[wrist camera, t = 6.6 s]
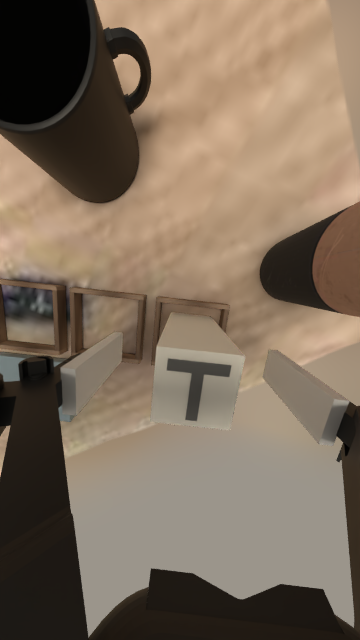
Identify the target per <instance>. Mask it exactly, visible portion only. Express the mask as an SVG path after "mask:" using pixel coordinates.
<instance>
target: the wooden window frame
mask: <svg viewBox="0 0 360 640" xmlns="http://www.w3.org/2000/svg"><path fill="white" fill-rule="evenodd" d="M82 293H83V294H92V295H101V296H110V297H119V298H128V299H137V300H139V308H138V325H137V342H136V354H127V353H122V361H121V362H127V363H136V364H139V363H140V361H141V360H142V352H143V337H144V322H145V308H146V295H141V294H132V293H123V292H114V291H106V290H97V289H88V288H79V287H72V288H70V320H71V356H73V355H75V354H78V353H83V352H85V351H86V350H88V349H82Z"/></svg>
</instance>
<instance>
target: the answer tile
mask: <svg viewBox="0 0 360 640" xmlns="http://www.w3.org/2000/svg"><path fill="white" fill-rule="evenodd" d="M30 357H35V355H26V354H17V353H7V352H0V373H1V374H2V375H3V379H4V382H9V381H20V378H19V367H18V364H19V362H20V361H22V360H24V359H27V358H30ZM52 358H53V357H52ZM53 360H54V367H55V366H57V365H58V364H60V363H62V362H63V361H65V360H67V359H62V358H53ZM58 409H59V418H60V421H67V422H71V420H72V419H73V418H74V417H75V416H74V415H65V414H62V405H61V406H60V407H59V408H58Z"/></svg>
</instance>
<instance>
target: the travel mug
mask: <svg viewBox="0 0 360 640" xmlns="http://www.w3.org/2000/svg"><path fill="white" fill-rule="evenodd" d="M260 278H261V283H262V285H263V287H264V289H265V290H266V292H267V293H268V294H270V295H271V296H272V297H274V298H276V299H279V300H282V301H286V302H291V303H295V304H300V305H305V306H309V307H314V308H318V309H323V310H328V311H332V312H337V313H342V314H347V315H352V316H357V317H360V202H358V203H356V204H354V205H352V206H350V207H348V208H346V209H344V210H342V211H340V212H338V213H336V214H334V215H332V216H330V217H328V218H326V219H324V220H322V221H320V222H318V223H316V224H314V225H312V226H310V227H308V228H306V229H304V230H302V231H300V232H298V233H296V234H294V235H292V236H290V237H288V238H286V239H284V240H283V241H281V242H279V243H278V244H276V245H275V246H273V247H272V248H271V249H270V250H269V252H268V253H267V254H266V256H265V257H264V259H263V261H262V264H261V269H260Z"/></svg>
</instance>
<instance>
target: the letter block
mask: <svg viewBox="0 0 360 640" xmlns="http://www.w3.org/2000/svg"><path fill="white" fill-rule="evenodd" d="M244 360H245V355H244V354H243V353H242V352H241V350H240V349H239V348H238V347H237V346H236V345H235V344H234V342H233V341H232V340H231V339H230V338H229V337H228V336H227V335H226V333H225V332H224V331H223V330H222V329H221V328H220V327H219V325H218V324H217V323H216V322H215V321H214V320H213V319H212V317H211V316H203V315H195V314H186V313H177V312H171V313H170V316H169V318H168V320H167V323H166V325H165V327H164V330H163V332H162V335H161V337H160V339H159V342H158V344H157V347H156V359H155V370H154V382H153V393H152V405H151V417H150V422H155V423H165V424H174V425H184V426H193V427H203V428H212V429H221V430H230V428H231V423H232V418H233V414H234V409H235V403H236V399H237V394H238V389H239V384H240V380H241V375H242V370H243V365H244Z"/></svg>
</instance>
